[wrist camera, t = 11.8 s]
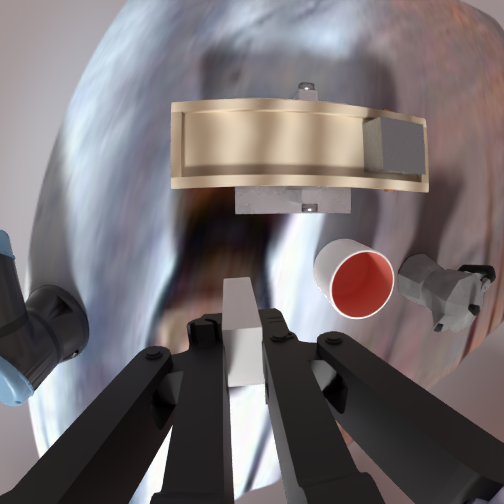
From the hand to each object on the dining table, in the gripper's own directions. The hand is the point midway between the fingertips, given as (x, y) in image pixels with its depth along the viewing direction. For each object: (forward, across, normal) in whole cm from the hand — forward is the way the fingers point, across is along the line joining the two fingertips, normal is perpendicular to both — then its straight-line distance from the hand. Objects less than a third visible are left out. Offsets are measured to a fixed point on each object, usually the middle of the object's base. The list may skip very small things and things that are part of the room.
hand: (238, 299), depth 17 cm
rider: (+17, +19, +11) cm, 28 cm away
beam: (+18, +10, +12) cm, 24 cm away
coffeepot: (+28, +34, -9) cm, 45 cm away
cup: (+28, +17, -7) cm, 34 cm away
